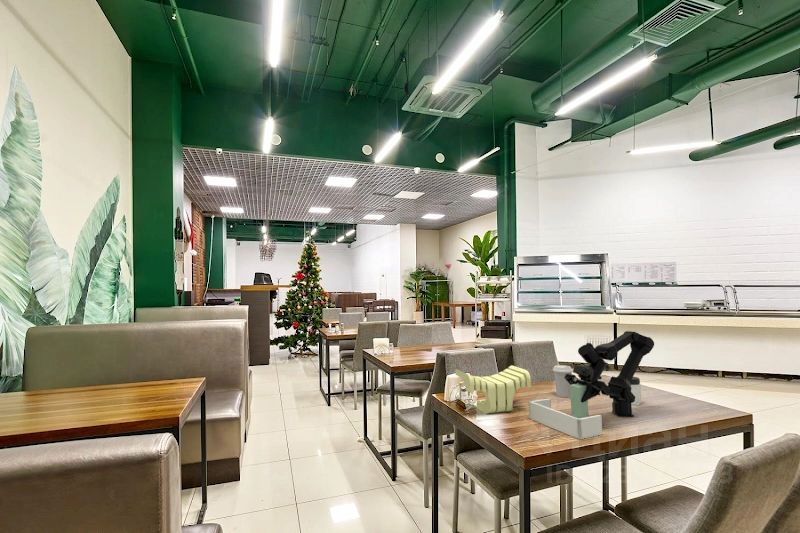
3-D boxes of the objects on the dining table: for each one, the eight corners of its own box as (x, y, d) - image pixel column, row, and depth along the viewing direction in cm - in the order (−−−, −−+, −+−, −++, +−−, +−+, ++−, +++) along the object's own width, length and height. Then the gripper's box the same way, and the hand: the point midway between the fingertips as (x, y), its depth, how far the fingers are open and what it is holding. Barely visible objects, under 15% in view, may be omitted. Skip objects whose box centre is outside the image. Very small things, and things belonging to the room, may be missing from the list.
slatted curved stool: (470, 417, 164) (470, 375, 165) (456, 406, 179) (455, 368, 180) (531, 411, 171) (530, 371, 173) (512, 401, 187) (511, 365, 188)
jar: (645, 404, 180) (644, 379, 181) (631, 405, 178) (630, 380, 179) (630, 399, 189) (629, 375, 190) (616, 400, 187) (615, 376, 188)
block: (579, 413, 159) (577, 383, 160) (588, 417, 155) (586, 385, 156) (571, 415, 157) (570, 384, 158) (580, 418, 153) (578, 387, 154)
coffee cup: (564, 399, 190) (562, 368, 192) (549, 394, 199) (548, 365, 200) (577, 397, 194) (576, 367, 195) (563, 392, 203) (562, 364, 204)
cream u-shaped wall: (549, 414, 166) (549, 398, 167) (602, 434, 142) (601, 415, 143) (529, 418, 162) (528, 401, 162) (580, 439, 138) (579, 419, 138)
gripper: (566, 354, 168) (548, 383, 162) (603, 361, 150) (585, 393, 145) (580, 371, 170) (563, 399, 165) (618, 379, 153) (600, 411, 148)
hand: (576, 400), depth 156 cm, fingers closed on block, 4 cm apart
